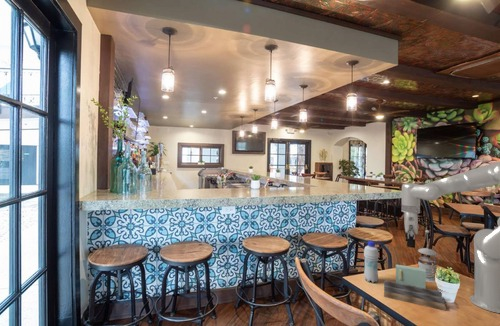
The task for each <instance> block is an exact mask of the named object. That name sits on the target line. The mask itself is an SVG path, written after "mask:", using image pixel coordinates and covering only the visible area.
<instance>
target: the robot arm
mask: <svg viewBox="0 0 500 326" xmlns="http://www.w3.org/2000/svg"><path fill="white" fill-rule="evenodd" d="M499 184H500V161H497V162H492V163H490V164H486V165H483V166H479V167H476V168H474V169H469V170H465V171H462V172H459V173H456V174H454V175H451V176H448V177H444V178H440V179H437V180H434V181H430V182H427V183H424V184H419V183H411V182H409V183H407V182H406V183H403V184H402V185H401V212H402V213H403V214H404V216H403V218H404V219H403V221H404V231H405V242H406V247H407V248H411V249H415V248H416V239H415V238H416V235H419V223H418V222H419V221H418V220H419V219H418V214H420V213H421V200H424V201H428V202H431V201H432V202H433V201H436V200H438V199H439V198H440V197H442V196H445V195H449V194H454V193H464V192H473V191H476V190H480V189H484V188H488V187H491V186H496V185H499ZM496 222H497V223H496V224H497V227H495V228H494V229H491V228H483V229H479V230H478V231H476V233H475V234H474V236H473V248H474V249H473V251H474V276H473V277H474V279H473V280H474V283H473V284H474V289H473V290H474V291H473V292H474V294H472V295H470V296H469V301H470V302H471V303H472V304H473V305H475V306H477V307H478V308H481V309H483V310H486V311H488V312H493V313H498V314H500V216H499V218H497V221H496Z"/></svg>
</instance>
